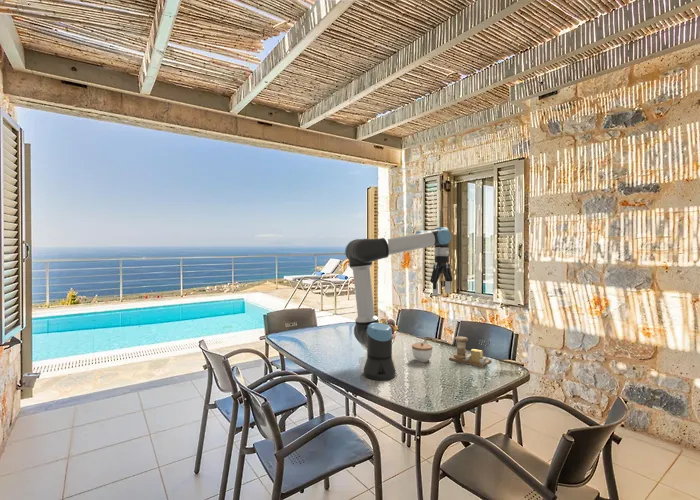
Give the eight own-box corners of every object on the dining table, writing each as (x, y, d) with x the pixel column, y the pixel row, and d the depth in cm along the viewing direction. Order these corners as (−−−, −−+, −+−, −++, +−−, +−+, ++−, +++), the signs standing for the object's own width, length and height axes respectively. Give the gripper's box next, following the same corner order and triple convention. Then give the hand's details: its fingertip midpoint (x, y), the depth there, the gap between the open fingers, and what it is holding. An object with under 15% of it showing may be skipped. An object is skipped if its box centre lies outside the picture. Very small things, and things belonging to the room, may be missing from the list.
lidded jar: (432, 364, 183) (432, 345, 183) (411, 362, 185) (411, 344, 185) (432, 357, 194) (432, 340, 194) (412, 356, 196) (412, 339, 196)
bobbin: (464, 359, 187) (465, 340, 187) (450, 356, 192) (450, 338, 192) (471, 356, 192) (471, 337, 192) (457, 353, 198) (457, 335, 198)
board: (482, 367, 178) (482, 360, 178) (449, 359, 191) (449, 353, 191) (491, 361, 187) (491, 354, 187) (459, 354, 199) (459, 348, 199)
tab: (480, 363, 181) (480, 351, 181) (470, 361, 184) (470, 349, 184) (482, 362, 183) (482, 350, 183) (473, 360, 186) (473, 348, 186)
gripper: (436, 255, 183) (436, 296, 183) (458, 255, 201) (458, 292, 201) (423, 255, 188) (423, 295, 188) (446, 255, 206) (446, 291, 206)
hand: (441, 294), depth 195 cm, fingers open, 13 cm apart
